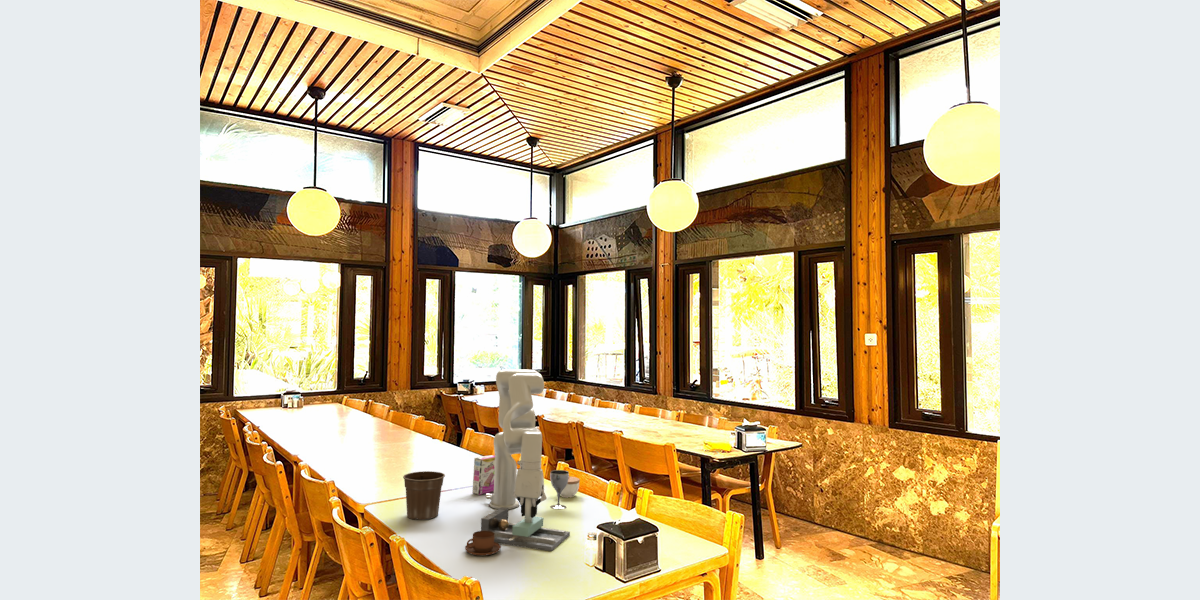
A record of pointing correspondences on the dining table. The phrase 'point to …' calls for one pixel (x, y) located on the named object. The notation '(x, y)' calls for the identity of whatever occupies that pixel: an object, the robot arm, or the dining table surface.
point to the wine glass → (559, 484)
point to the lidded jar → (571, 487)
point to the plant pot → (423, 494)
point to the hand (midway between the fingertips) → (528, 515)
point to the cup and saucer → (482, 544)
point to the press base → (537, 540)
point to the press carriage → (527, 522)
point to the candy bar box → (483, 475)
